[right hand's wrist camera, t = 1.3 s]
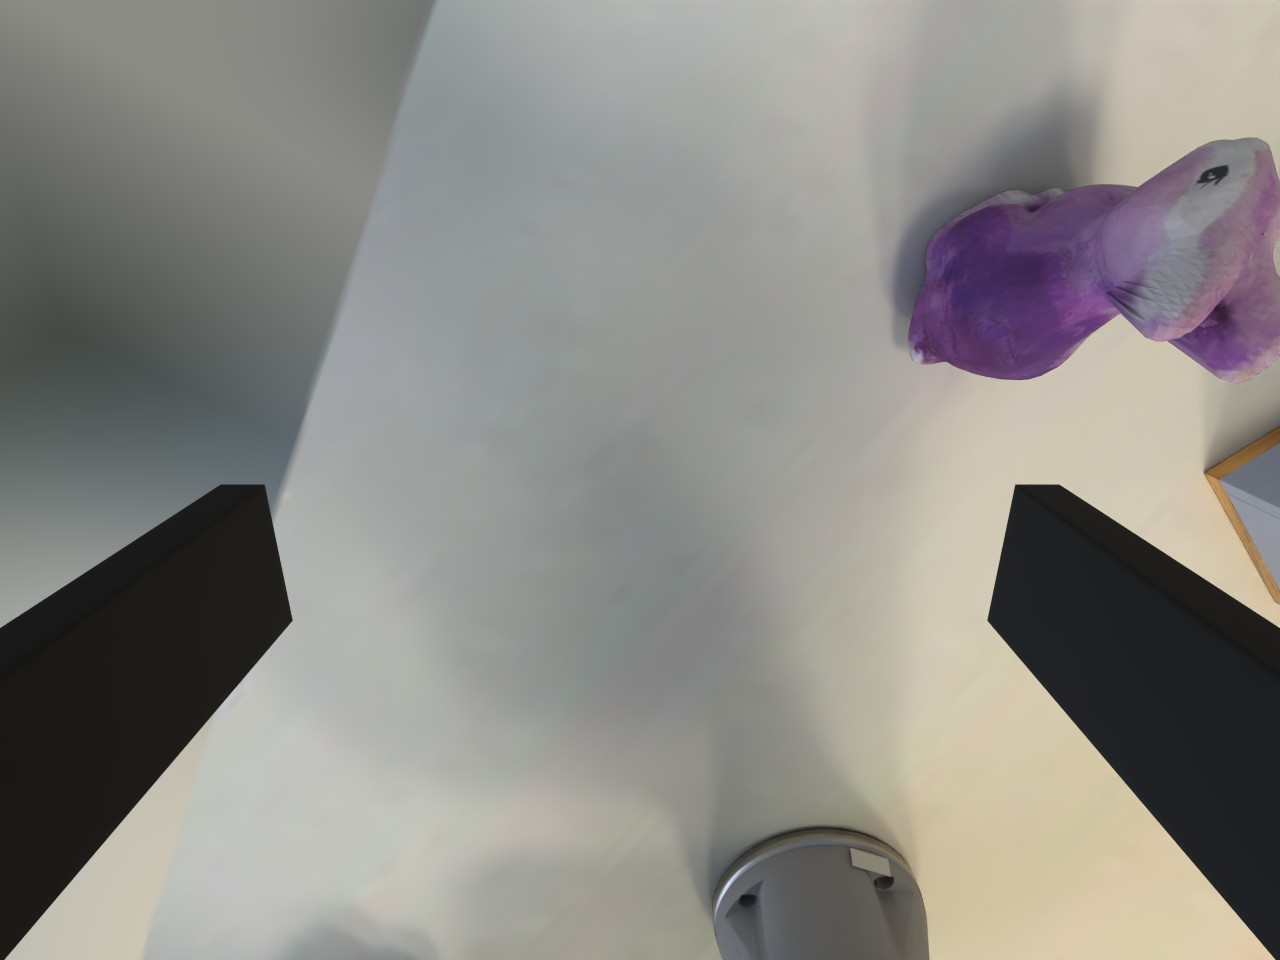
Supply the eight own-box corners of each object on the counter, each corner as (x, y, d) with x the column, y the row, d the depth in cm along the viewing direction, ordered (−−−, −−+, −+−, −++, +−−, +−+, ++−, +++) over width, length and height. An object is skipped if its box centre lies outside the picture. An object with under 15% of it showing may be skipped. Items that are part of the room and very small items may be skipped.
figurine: (1120, 157, 34) (1459, 123, 20) (1065, 367, 37) (1318, 462, 24) (925, 150, 34) (1128, 109, 20) (890, 360, 37) (1040, 452, 23)
